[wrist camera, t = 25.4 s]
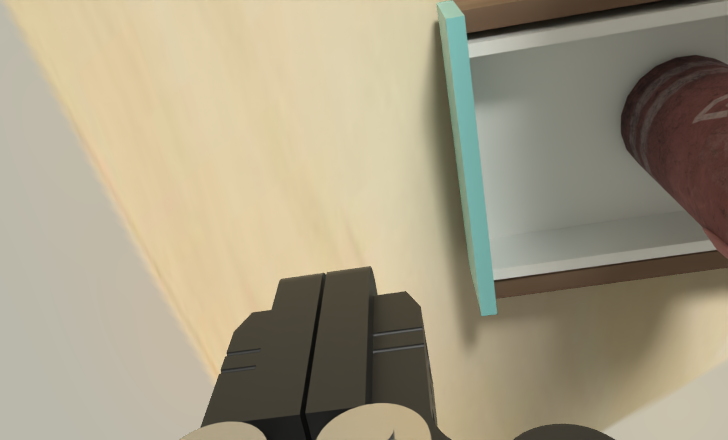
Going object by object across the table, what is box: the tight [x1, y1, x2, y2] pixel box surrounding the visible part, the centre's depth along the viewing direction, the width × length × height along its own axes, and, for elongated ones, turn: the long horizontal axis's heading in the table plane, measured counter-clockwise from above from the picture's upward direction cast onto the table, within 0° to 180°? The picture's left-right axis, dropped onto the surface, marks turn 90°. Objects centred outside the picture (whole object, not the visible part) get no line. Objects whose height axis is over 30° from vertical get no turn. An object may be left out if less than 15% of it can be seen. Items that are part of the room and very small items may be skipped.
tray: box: [437, 0, 728, 316], centre depth 34 cm, size 15×16×5 cm
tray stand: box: [453, 0, 728, 299], centre depth 35 cm, size 15×17×5 cm
